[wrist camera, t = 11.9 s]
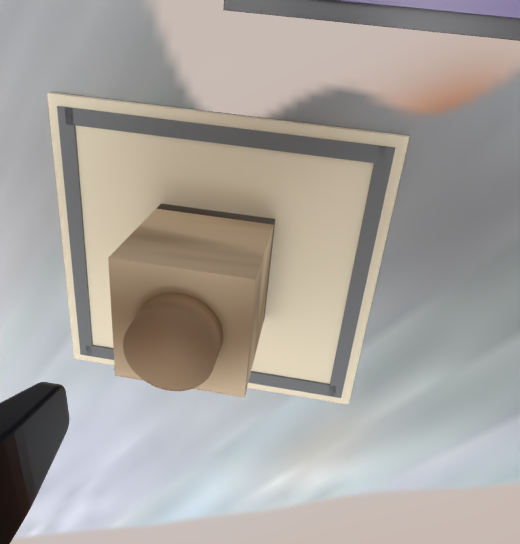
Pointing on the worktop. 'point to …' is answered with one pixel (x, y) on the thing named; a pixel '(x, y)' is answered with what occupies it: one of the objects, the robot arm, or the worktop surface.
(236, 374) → the stamp
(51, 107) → the cream square plate
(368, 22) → the ink pad
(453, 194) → the worktop surface
